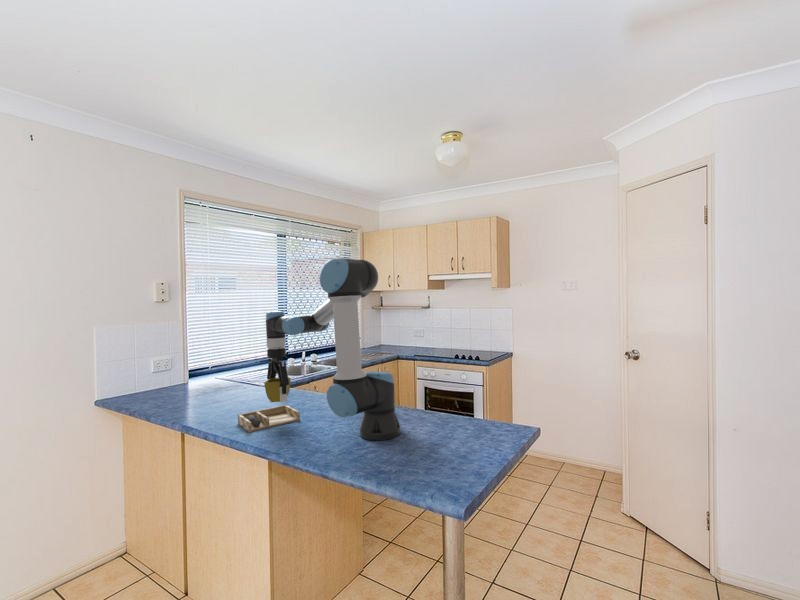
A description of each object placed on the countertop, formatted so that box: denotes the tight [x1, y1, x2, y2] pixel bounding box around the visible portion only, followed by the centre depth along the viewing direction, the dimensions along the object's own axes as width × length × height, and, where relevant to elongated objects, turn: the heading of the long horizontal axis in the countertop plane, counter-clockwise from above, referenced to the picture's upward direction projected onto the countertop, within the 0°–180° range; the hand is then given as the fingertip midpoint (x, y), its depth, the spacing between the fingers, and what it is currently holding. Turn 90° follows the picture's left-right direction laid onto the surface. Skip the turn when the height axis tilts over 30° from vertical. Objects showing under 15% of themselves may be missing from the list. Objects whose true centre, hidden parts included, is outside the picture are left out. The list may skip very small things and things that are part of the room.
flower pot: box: [263, 377, 292, 403], centre depth 168 cm, size 9×9×9 cm
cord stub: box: [247, 415, 260, 426], centre depth 163 cm, size 11×3×3 cm, turn 38°
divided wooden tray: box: [237, 404, 301, 433], centre depth 168 cm, size 15×21×4 cm
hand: (278, 399), depth 168 cm, fingers closed on flower pot, 11 cm apart
